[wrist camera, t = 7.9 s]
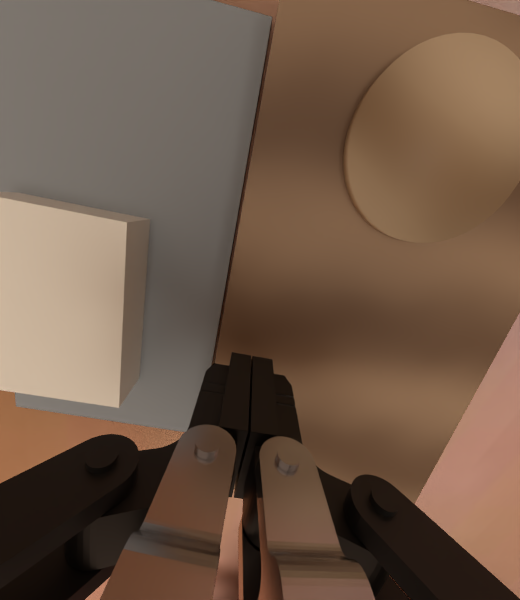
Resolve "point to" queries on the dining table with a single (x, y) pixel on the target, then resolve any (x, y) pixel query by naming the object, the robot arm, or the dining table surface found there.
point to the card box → (70, 299)
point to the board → (362, 254)
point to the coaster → (436, 139)
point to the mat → (140, 158)
